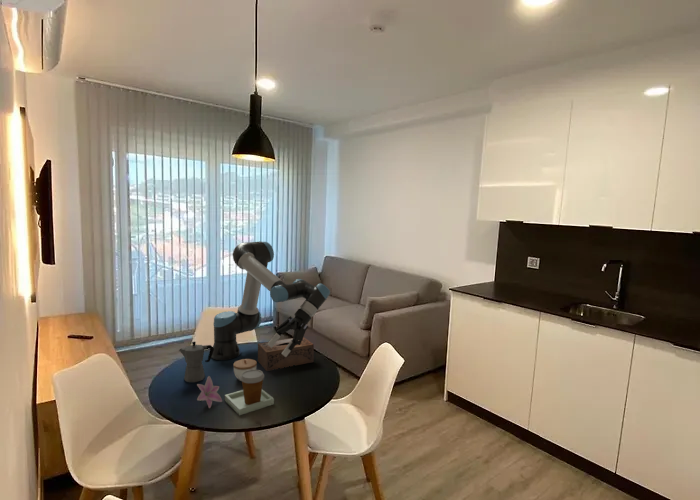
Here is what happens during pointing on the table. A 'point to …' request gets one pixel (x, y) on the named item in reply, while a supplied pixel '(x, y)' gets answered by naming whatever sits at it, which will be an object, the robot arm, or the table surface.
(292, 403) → the table surface
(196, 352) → the coffeepot
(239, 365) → the lidded jar
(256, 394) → the disposable coffee cup
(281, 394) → the table surface
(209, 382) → the lily
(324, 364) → the table surface
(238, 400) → the tray
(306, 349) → the tissue box cover
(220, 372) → the table surface
